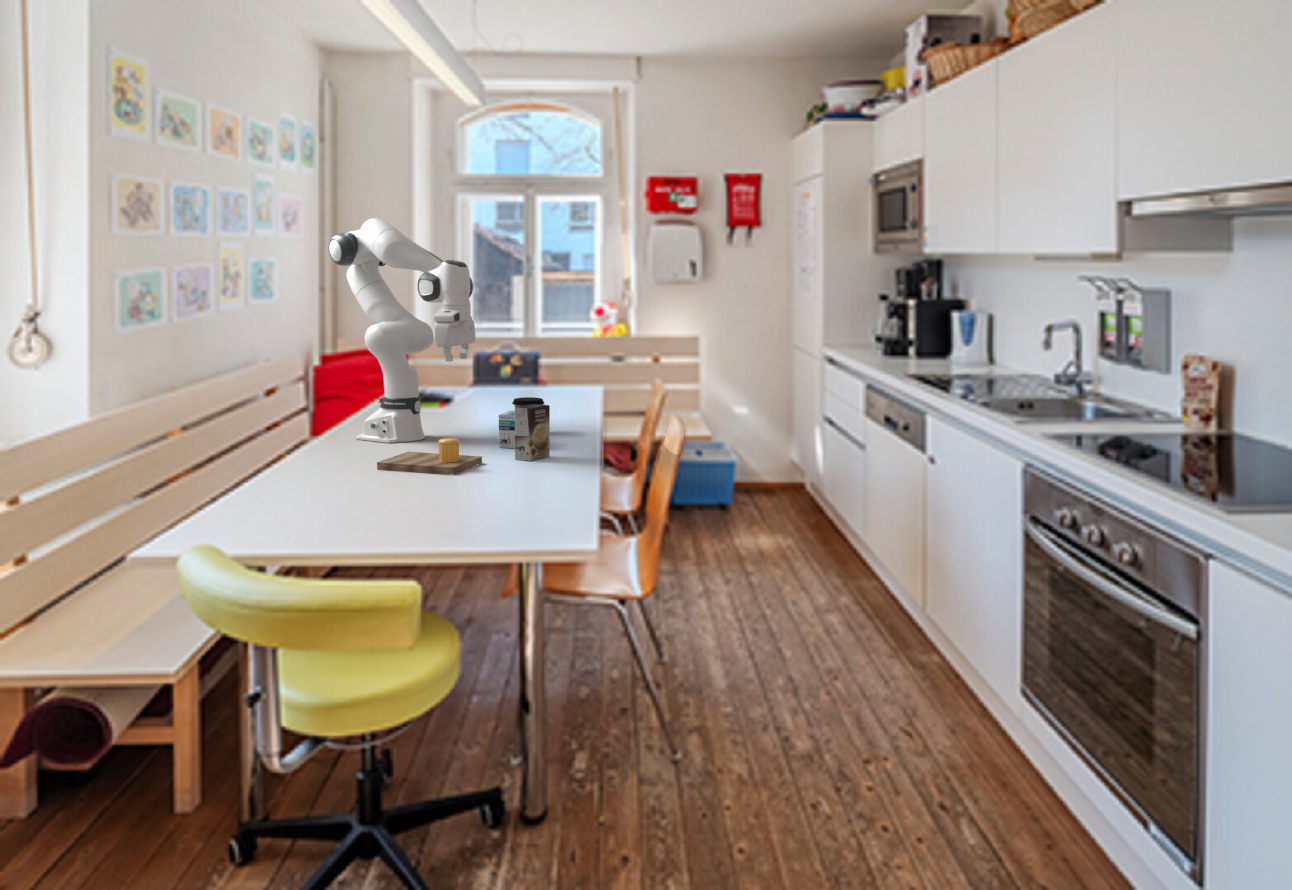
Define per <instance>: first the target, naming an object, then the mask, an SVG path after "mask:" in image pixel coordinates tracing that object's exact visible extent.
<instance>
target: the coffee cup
mask: <svg viewBox="0 0 1292 890" xmlns="http://www.w3.org/2000/svg"><path fill="white" fill-rule="evenodd" d="M530 404H542V405H545V401H544V399H543V398H541V397H532V396H531V397H530V396H529V397H517V398H514V399H513V401H512V405H513V406H514V407H515V406H522V405H530Z"/></svg>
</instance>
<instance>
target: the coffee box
mask: <svg viewBox="0 0 1292 890" xmlns="http://www.w3.org/2000/svg"><path fill="white" fill-rule="evenodd" d="M550 408H551V407H550V405H549V404H543V405H542V404H530V405H522V406H514V411H515V449H514V459H515V460H518V459H522V460H521V461H525V460H528V461H527V462H533V461H532V460H534V461H537V460H536V459H539V460H542V459H543V458H544V459H547V457H548V458H550V455H551V454H550V453H551V451H550V449H551V448H550V444H551V443H550V440H551V439H550V437H551V435H550V433H551V432H550V430H551V429H550V419H551V418H550V415H551V414H550V413H551V412H550V411H551V410H550Z"/></svg>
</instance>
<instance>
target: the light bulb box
mask: <svg viewBox="0 0 1292 890" xmlns="http://www.w3.org/2000/svg"><path fill="white" fill-rule="evenodd" d="M498 444H499V445H498V446H499V447H500V449H514V448H515V410H508V411H506V412H502V413H501V414H498ZM499 447H498V448H499Z"/></svg>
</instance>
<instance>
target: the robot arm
mask: <svg viewBox="0 0 1292 890" xmlns="http://www.w3.org/2000/svg"><path fill="white" fill-rule="evenodd" d="M328 252H329V255H330V258H331V259H332V261H333V262H334V263H335V264H336V265H338V266H342V267H343V266H344V267H349V268H347V271H346V280H347V282H348V285H349V287H350V290H351V292H352V294H353V296H354V297H355V299H356V301H357V303H358V304H359V306H360V308H361V310H362V311H363V312H364V314H365V316H366V317H367V318H368V320H370V321H371V322H373V323H375V324H373V325H370V326H368V328H367V329H366V331H365V334H364V344H365V346H366V349H367V350H368V351H369V353H371V354H372V355H373V356H374V357H375V358H376V359H377V361H378V364H379V365H380V368H381V371H382V375H383V376H382V377H383V388H384V389H383V390H384V393H383V394H384V396H383V397H381V398H380V399H377V404H380V406H379V408H378V409H376V410H375V411H374V412H373V413H372V414H370V415H369V416H368V417H366V419H365V421H364V422H363V427H362V433H359V434H357V435H356V436H355V437H356V438H355V439H356V440H360V441H369V442H378V443H379V442H380V443H387V444H390V443H391V444H392V443H400V442H401V443H402V442H414V441H421V440H424V439H425V438H426V436H425V433H424V430H423V426H422V421H421V420H422V419H421V418H422V417H421V396H420V394H419V387H420V386H419V374H418V371H417V370H416V369H415V368H413V367H411V366H410V364H409V362H408V358H407V355H411V354H419V353H421V352H424V351H426V350H429V349H430V348H431V346H433V343H434V342H435V345H436V347H437V348H442V351H443V354H444V356H445V358H444V359H445V362H447V363H450V362H453V360H454V355H452V347H456V346H460V348H461V349H460V352H459V359H462V360H465V359H466V360H467V358H468V351H469V348H470V344H474V343H475V342H476V326H475V322H474V320H473V318H472V316H471V302H470V301H471V300H470V297H471V296H472V294H473V292H474V283H473V280H472V278H471V276H470V270H469V266H468V265H467V264H466V263H465V262H463V261H461V260H454V259H453V260H452V259H451V260H450V259H449V260H448V259H447V260H446V259H445V260H442V259H441V258H440V257H438V256H436V255H435V254H434V253H432V252H431V251H429V250H427V249H425V248H424V247H422V246H421V245H419V244H418V243H416V242H414V241H413V240H412V239H410V238H409V237H407V236H406V235H405V234H403V233H402V232H401V231H400V230H398V229H397V228H396V227H395V226H393V225H392V224H390V223H389V222H386V221H385V220H383V219H381V218H379V217H378V218H377V217H372V218H369V219H367V220H366V221H365V222H364V223H363V224H362V225H361V227H360V229H357V230H351V231H346V232H340V233H336V234H335V235H333V236H331V238H330V240H329V242H328ZM386 265H387V266H389V267H391V268H393V269H400V270H401V269H403V270H412V271H418V272H422V273H421V275H420V276H419V278H418V280H417V284H416V285H417V292H418V295H419V297H420V298H421V299H422V300H423V301H424V302H428V303H440V309H439V310H438V311H436V312H435V313H434V314H433V321H434V323H435V324H434V331H433V328H432V326H430V325H429V323H427V322H424V321H422V320H421V319H418V317H416V316H415V315H413V314H412V313H410V311H408V310H407V309H406V308H405V307H404V306H403V305H402V304H401V303H400V301H398V300H397V298H396V297H395V295H394V294H393V292H392V291H391V289H390V288H389V286H388V284H387V283H386V281H385V280H384V278H383V277H382V275H381V273H380V271H379V267H384V266H386Z"/></svg>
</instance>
